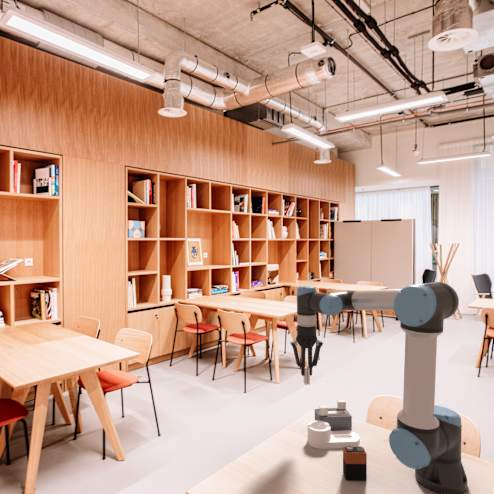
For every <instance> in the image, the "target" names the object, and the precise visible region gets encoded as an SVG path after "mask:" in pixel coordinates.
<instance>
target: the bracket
mask: <svg viewBox="0 0 494 494" xmlns="http://www.w3.org/2000/svg"><path fill="white" fill-rule="evenodd" d="M360 440H361V437H360V435H359V434H358V433H357V432H355V431H353V430H352V431H351V430H343V431H331V427H329V424H328V423H327V422H324V421H315V420H312V421H309V422H308V423H307V444H308V445H309V446H310V447H312V448H315V449H321V450H322V449H343V447H346V446H352V447H359V446H360V444H361V443H360Z"/></svg>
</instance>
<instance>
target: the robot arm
mask: <svg viewBox="0 0 494 494" xmlns="http://www.w3.org/2000/svg"><path fill="white" fill-rule="evenodd" d="M296 290H297V291H296V324H297V325H296V337H295V339H294V340H292V341H290V345H291V346H292V350H293V353H294V358H295V362H296V363H295V364H296V366H297V367H300V374H301V376H303V383H304V385H306V386H307V385H311V378H310V377H311V376H312V375H313V367H317V365H318V361H319V356H320V352H321V347H322V346H324V345H323V344H324V343H323V342H322V341H321V340H319V339H318V337H317V326H316V324H317V313H318V314H323V315H326V316H337V315H339V314H340V313H341V312H346V311H388V312H389V311H390V312H391V311H394V315H395V316H396V317H397V320H398V321H399V322H400V323H399V324H400V329H401V330H402V332H404V334H405V337H404V338H405V342H404V368H403V395H402V396H403V398H402V399H403V400H402V409H400V410H399V411H398V413H397V414H396V427H395V428H394V429H392V431H391V432H390V433H389V436H388V443H389V447H390V450H391V452H392V453H393V454H394V455H395V457H396V459H397V460H398V461H399V462H400V463H401V464H402V465H404V466H405V467H406V468H408V469H411V470H414V477H415V479H416V481H417V482H418V483H420V485H422V486H423V487H425V488H426V489H428V490H430V491H432V492H435V493H438V494H465V492H467V490H468V478H467V474H466V470H465V468H464V465H463V462H462V428H463V425H462V418H461V416H460V415H459V413H458V412H456V411H454V410H453V409H450V408H448V407H445V406H440V405H436V404H435V399H436V398H435V396H436V372H437V369H436V368H437V345H438V344H437V342H438V336H441V334H442V333H443V332H444V320H446V319H449V318H450V317H453V315H454V314H455V313H457V310H458V308H459V301H460V300H459V295H458V294H457V291H456V290H455V289H454V288H453V287H452V286H451V285H449V284H447V283H445V282H440V281H433V282H425V283H424V282H423V283H414V284H411V285H407V286H405V287H403V288H395V289H392V288H390V289H389V288H388V289H371V290H370V289H369V290H367V289H366V290H346V291H345V290H344V291H340V292H339V291H338V292H329V293H324V292H322V293H321V292H317V288H316V286H313V285H301V286H298V287H297V289H296ZM298 345H299V347H300V356H299V351H298V347H297V346H298ZM314 345H315V349H314V353H313V347H314ZM306 349H307V350H306ZM306 351H307V365H306Z"/></svg>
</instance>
